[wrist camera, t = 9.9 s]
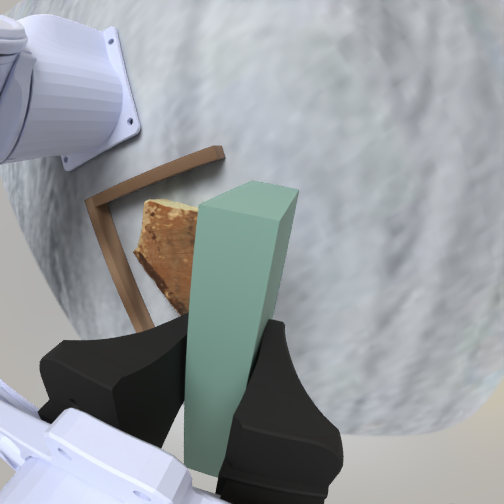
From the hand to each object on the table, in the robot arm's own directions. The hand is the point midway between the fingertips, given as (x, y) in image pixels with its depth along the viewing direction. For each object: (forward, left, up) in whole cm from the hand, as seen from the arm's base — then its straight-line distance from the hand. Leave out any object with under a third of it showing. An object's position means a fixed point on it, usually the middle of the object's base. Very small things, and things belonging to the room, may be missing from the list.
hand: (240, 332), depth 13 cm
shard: (-1, -4, -9) cm, 10 cm away
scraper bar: (0, 0, -2) cm, 3 cm away
